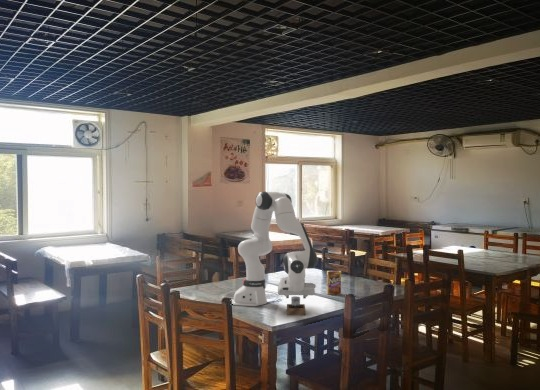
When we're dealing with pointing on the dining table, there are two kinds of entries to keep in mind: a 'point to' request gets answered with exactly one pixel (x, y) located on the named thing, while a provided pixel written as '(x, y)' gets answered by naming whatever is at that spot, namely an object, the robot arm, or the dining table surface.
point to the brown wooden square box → (296, 310)
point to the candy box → (333, 282)
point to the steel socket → (295, 302)
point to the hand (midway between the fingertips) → (295, 297)
